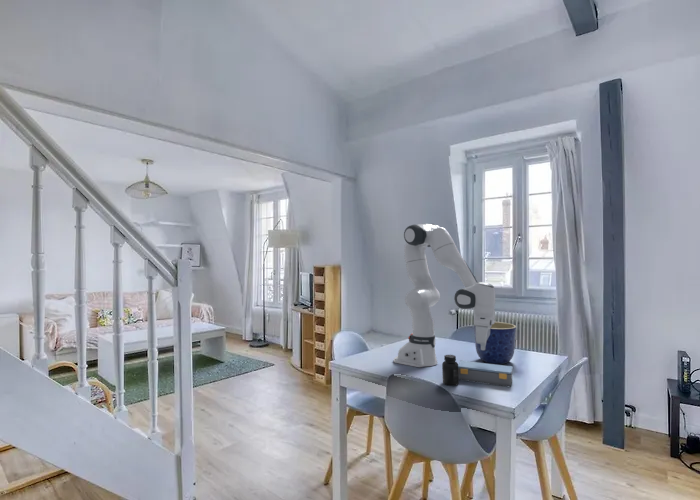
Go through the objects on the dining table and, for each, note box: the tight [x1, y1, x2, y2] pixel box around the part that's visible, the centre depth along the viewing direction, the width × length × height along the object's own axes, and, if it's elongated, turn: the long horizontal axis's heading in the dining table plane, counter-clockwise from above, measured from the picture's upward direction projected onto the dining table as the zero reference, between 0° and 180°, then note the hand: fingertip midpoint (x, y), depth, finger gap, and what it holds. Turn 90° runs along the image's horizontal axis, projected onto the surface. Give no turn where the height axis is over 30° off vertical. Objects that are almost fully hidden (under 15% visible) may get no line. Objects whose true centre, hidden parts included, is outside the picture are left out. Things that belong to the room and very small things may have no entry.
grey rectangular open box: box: [458, 368, 513, 388], centre depth 174 cm, size 22×10×5 cm, turn 64°
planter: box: [473, 321, 517, 365], centre depth 203 cm, size 21×21×19 cm
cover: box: [458, 360, 514, 379], centre depth 173 cm, size 22×11×3 cm, turn 64°
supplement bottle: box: [441, 354, 460, 387], centre depth 169 cm, size 7×7×12 cm
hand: (483, 349), depth 175 cm, fingers closed
